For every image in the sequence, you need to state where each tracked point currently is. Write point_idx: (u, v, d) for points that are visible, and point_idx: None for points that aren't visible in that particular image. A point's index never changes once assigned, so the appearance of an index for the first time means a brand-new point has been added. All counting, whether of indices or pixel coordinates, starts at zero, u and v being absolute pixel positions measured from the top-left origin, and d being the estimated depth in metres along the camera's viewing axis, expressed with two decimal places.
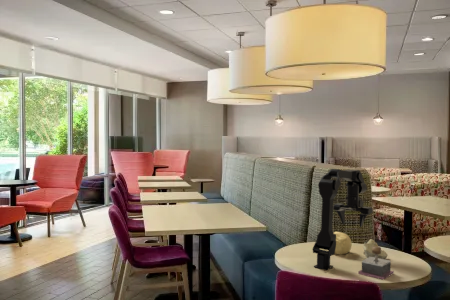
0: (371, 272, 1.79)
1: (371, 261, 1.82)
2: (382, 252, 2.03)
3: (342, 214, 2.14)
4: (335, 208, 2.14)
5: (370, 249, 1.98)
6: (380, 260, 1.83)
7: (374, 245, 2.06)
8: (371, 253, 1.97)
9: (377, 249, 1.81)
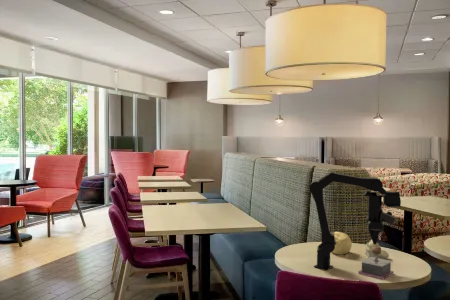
0: (371, 272, 1.79)
1: (371, 261, 1.82)
2: (384, 252, 2.03)
3: None
4: (366, 219, 1.93)
5: None
6: (380, 260, 1.83)
7: (376, 245, 2.06)
8: None
9: (377, 249, 1.81)
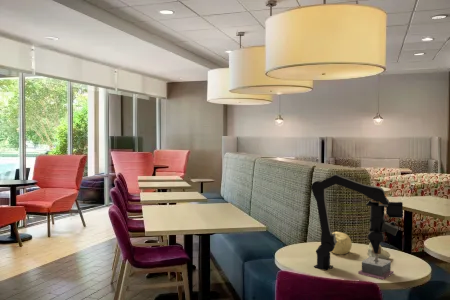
0: (371, 272, 1.79)
1: (371, 261, 1.82)
2: (385, 252, 2.03)
3: None
4: None
5: None
6: (380, 260, 1.83)
7: None
8: None
9: None
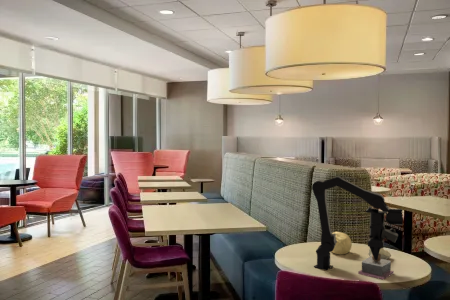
0: (371, 272, 1.79)
1: (371, 261, 1.82)
2: (386, 252, 2.03)
3: None
4: None
5: None
6: (380, 260, 1.83)
7: None
8: None
9: None
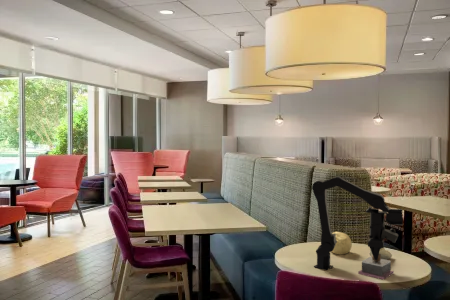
0: (371, 272, 1.79)
1: (371, 261, 1.82)
2: (388, 252, 2.03)
3: None
4: None
5: None
6: None
7: None
8: (381, 254, 1.96)
9: None
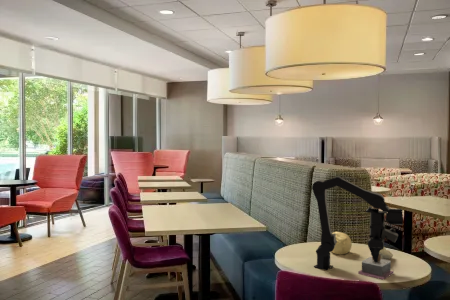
0: (371, 272, 1.79)
1: (371, 261, 1.82)
2: (389, 252, 2.03)
3: None
4: None
5: (381, 250, 1.96)
6: None
7: None
8: (383, 254, 1.95)
9: None
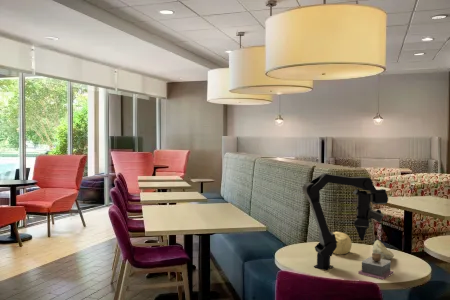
0: (371, 272, 1.79)
1: (371, 261, 1.82)
2: (390, 252, 2.03)
3: None
4: None
5: (383, 250, 1.96)
6: None
7: (381, 246, 2.05)
8: (385, 254, 1.95)
9: (377, 256, 1.81)
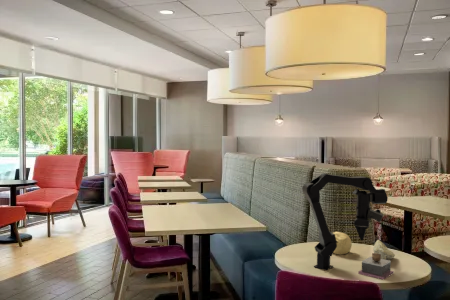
0: (371, 272, 1.79)
1: (371, 261, 1.82)
2: (391, 252, 2.03)
3: None
4: None
5: (385, 250, 1.96)
6: None
7: None
8: (387, 254, 1.95)
9: (377, 256, 1.81)
